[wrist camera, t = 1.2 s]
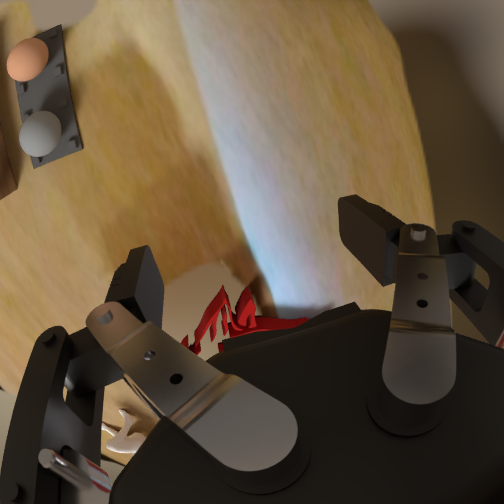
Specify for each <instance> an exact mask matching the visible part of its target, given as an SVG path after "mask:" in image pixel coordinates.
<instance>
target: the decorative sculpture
mask: <svg viewBox="0 0 504 504" xmlns="http://www.w3.org/2000/svg"><path fill="white" fill-rule="evenodd" d="M225 304H226V305H227V306H228V310H229V315H230V320H231V322H229V323H227V313H226V308H225ZM220 310H221V313H222V321H221V324H222V329H223V335H224V336H225V335H226V333H227V331H228V330H229V335H230V338H232V337H236V336H240V335H244V334H248V333H252V332H256V331H266V330H278V329H288V328H294V327H296V326H298V325H300V324H302V323H304V322H306V321H308V320H310V319H308V320H307V318H306V317H304V318H298V319H278V318H267V317H261V315H255V311H256V307H255V304H254V301H253V298H252V295H251V293H250V291H249V289H248V287H247V288H244V290H243V291H242V293H241V295H240V297H239V299H238V301H237V303H236V306H235V311H236V314H234V313H233V312H232V311H231V307H230V303H229V298H228V295H227V293H226V291H225V289H224V286H223V285H222V287H221V289H220V291H219V292H218V293H217V295H216V296H215V297H214V299H213V300H212V301H211V302H210V304H209V305H208V307H207V308H206V310H205V312H204V314H203V316H202V319H201V321H200V323H199V325H198V327H197V328H196V330H195V331H194V335H195V341H194V343H193V344H190V346H189V347H188V335H186V336H185V337H184V338H183V340H182V341H181V344H182V345H183V346H185V347H186V348H187V349H189V350H190V351H192V352H193V353H194V354H196V355H198V354H199V353H200V351H201V347H200V340H201V339H202V337H203V336H204V334H205V332H206V331H207V329H208V327H209V325H210V324H211V323H212V324H211V325H210V328H209V329H210V337H211V342H212V341H213V340H214V338H215V336H216V321H217V317H218V314H219V312H220ZM311 319H312V318H311ZM218 349H219V352H221V351H223V350H224V348H223V342H219V343H218Z"/></svg>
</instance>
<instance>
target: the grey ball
mask: <svg viewBox="0 0 504 504" xmlns="http://www.w3.org/2000/svg"><path fill="white" fill-rule="evenodd" d="M61 131H62V130H61V124H60V121H59V119H58V118H57V116H56V115H54V114H53V113H51V112H49V111H38V112H35V113H33V114H31V115H30V116H29V117H28V118H27V119H26V120H25V121H24V123H23V124H22V126H21V129H20V133H19V141H20V145H21V147H22V149H23V150H24V151H25V152H26V153H27V154H28V155H30V156H34V157H41V156H44V155H47V154H49V153H50V152H51V151H52V150H54V148H55V147H56V146H57V144H58V142H59V140H60V137H61Z"/></svg>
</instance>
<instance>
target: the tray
mask: <svg viewBox="0 0 504 504" xmlns="http://www.w3.org/2000/svg"><path fill="white" fill-rule="evenodd" d="M33 38H37V39H40V40H42V41H43V42H44V43H45V44H46V46H47V48H48V52H49V56H48V61H47V64H46V66H45V68H44V69H43V71H42V72H41V73H40V74H39V75H38V76H36V77H35V78H33V79H31V80H28V81H17V80H15V83H16V90H17V96H18V102H19V108H20V113H21V119H22V123H24V121H25V120H26V119H27V118H28V117H29V116H30V115H31V114H33V113H35V112H38V111H49V112H51V113H53V114H54V115H56V116H57V118H58V119H59V121H60V124H61V130H62V131H61V137H60V140H59V142H58V144H57V146H56V147H55V148H54V150H52V151H51V152H50V153H49V154H47V155H44V156H41V157H34V156H30V157H31V161H32V164H33V168H34V169H35V168H37V167H39V166H42V165H44V164H46V163H49V162H51V161H54V160H56V159H59V158H61V157H64V156H66V155H69V154H71V153H74V152H77V151H79V150H82V149H83V147H82V143H81V139H80V135H79V131H78V127H77V122H76V118H75V113H74V108H73V103H72V98H71V93H70V87H69V81H68V75H67V68H66V62H65V54H64V46H63V37H62V26H61V24H60V25H58V26H55V27H53V28H51V29H49V30H47V31H45V32H43V33H41V34H39V35H37V36H35V37H33Z"/></svg>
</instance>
